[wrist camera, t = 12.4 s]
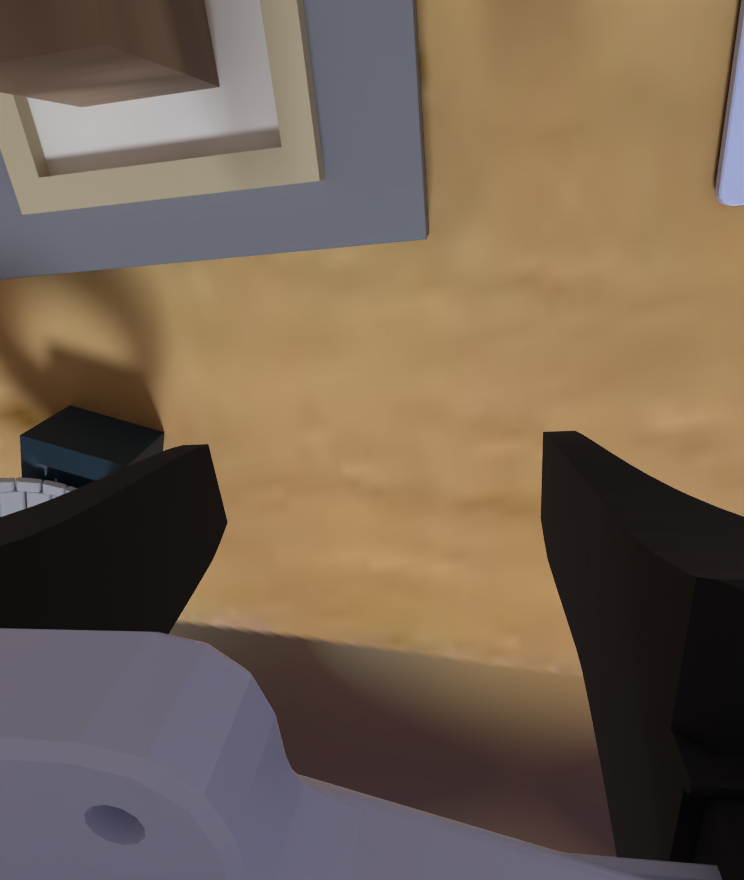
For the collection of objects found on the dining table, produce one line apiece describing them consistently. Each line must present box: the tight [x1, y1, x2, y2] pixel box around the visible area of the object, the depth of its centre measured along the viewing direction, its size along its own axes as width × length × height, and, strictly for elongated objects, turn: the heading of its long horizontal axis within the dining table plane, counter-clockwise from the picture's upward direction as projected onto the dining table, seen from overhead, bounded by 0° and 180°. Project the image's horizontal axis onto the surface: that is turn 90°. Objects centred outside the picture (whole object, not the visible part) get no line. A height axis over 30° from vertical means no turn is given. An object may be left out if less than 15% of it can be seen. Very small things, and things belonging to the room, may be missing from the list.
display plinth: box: [0, 0, 429, 279], centre depth 17 cm, size 16×14×3 cm
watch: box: [0, 406, 164, 517], centre depth 21 cm, size 6×8×11 cm
